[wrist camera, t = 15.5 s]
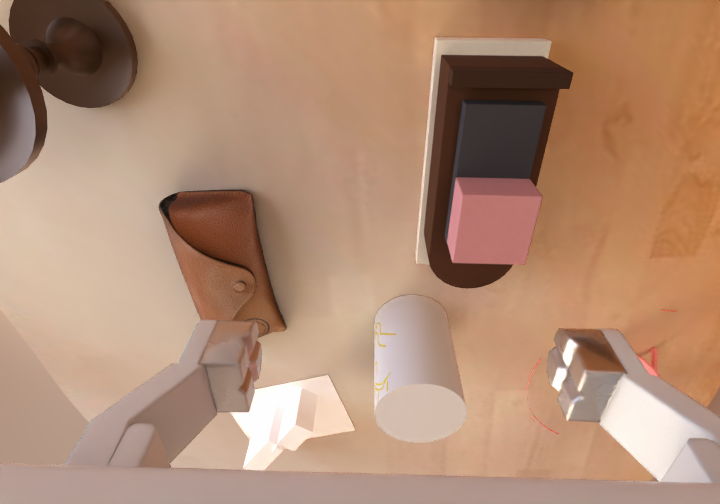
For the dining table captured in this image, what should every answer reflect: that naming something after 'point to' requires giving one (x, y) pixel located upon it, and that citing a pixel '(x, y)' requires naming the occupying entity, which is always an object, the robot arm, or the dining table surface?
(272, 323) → the sunglasses case
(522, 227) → the two-tone stepped block
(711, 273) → the dining table surface
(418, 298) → the cup
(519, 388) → the dining table surface
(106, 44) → the candlestick
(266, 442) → the napkin holder
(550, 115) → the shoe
